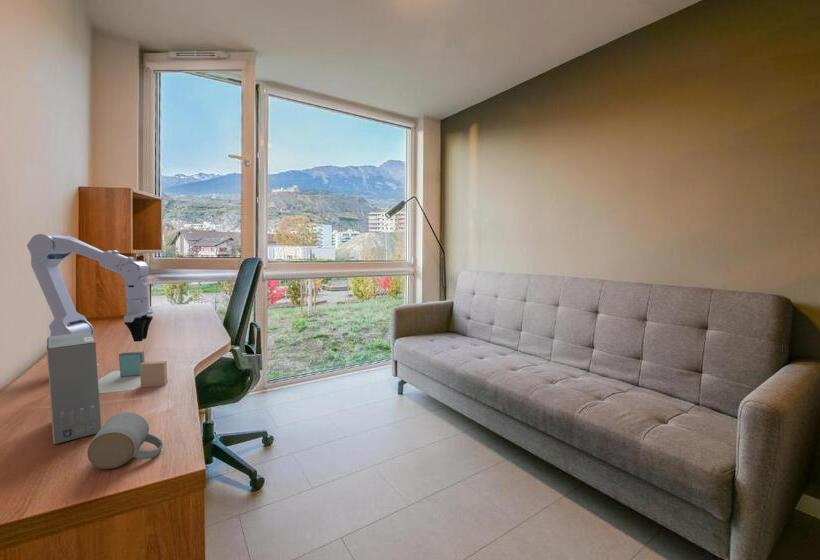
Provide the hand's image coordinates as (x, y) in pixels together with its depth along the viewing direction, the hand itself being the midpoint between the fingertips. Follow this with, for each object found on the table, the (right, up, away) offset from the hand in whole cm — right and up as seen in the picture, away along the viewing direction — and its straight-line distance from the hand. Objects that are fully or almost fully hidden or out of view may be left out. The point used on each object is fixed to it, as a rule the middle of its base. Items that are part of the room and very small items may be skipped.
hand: (140, 340), depth 120 cm
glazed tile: (+2, -10, -5) cm, 12 cm away
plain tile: (+14, -11, -14) cm, 22 cm away
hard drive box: (+13, -13, -37) cm, 42 cm away
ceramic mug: (+34, -15, -50) cm, 62 cm away
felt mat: (+2, -11, -10) cm, 14 cm away
